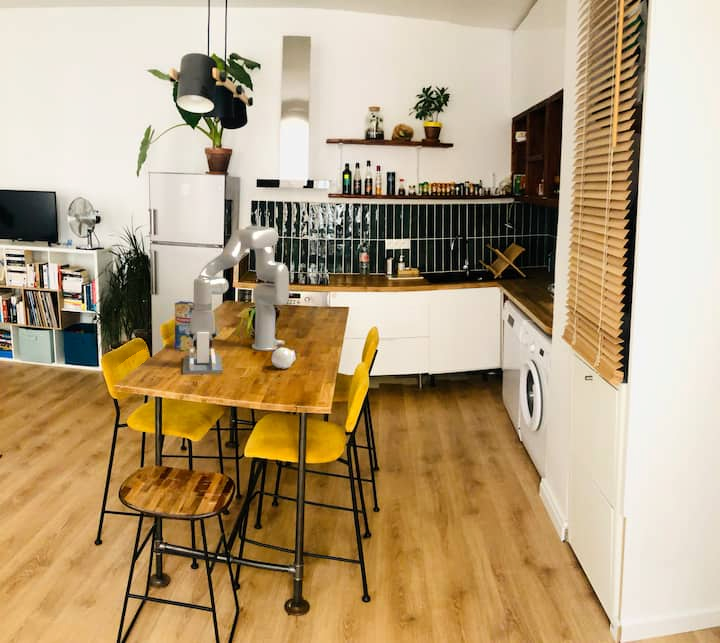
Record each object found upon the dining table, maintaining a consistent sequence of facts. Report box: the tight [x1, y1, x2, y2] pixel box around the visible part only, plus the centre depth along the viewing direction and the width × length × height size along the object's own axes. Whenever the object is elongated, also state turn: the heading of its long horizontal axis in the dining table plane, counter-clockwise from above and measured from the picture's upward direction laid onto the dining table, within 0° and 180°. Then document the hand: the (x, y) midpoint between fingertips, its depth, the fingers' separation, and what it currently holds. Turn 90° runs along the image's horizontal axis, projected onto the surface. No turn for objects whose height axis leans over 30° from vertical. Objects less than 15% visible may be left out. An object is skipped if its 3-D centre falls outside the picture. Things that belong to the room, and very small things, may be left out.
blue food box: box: [174, 300, 197, 352], centre depth 336 cm, size 7×11×22 cm, turn 80°
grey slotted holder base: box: [182, 348, 224, 375], centre depth 308 cm, size 16×26×4 cm, turn 13°
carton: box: [196, 332, 210, 363], centre depth 307 cm, size 5×9×13 cm, turn 13°
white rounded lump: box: [271, 346, 298, 370], centre depth 312 cm, size 9×10×15 cm
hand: (202, 348), depth 307 cm, fingers closed on carton, 5 cm apart
